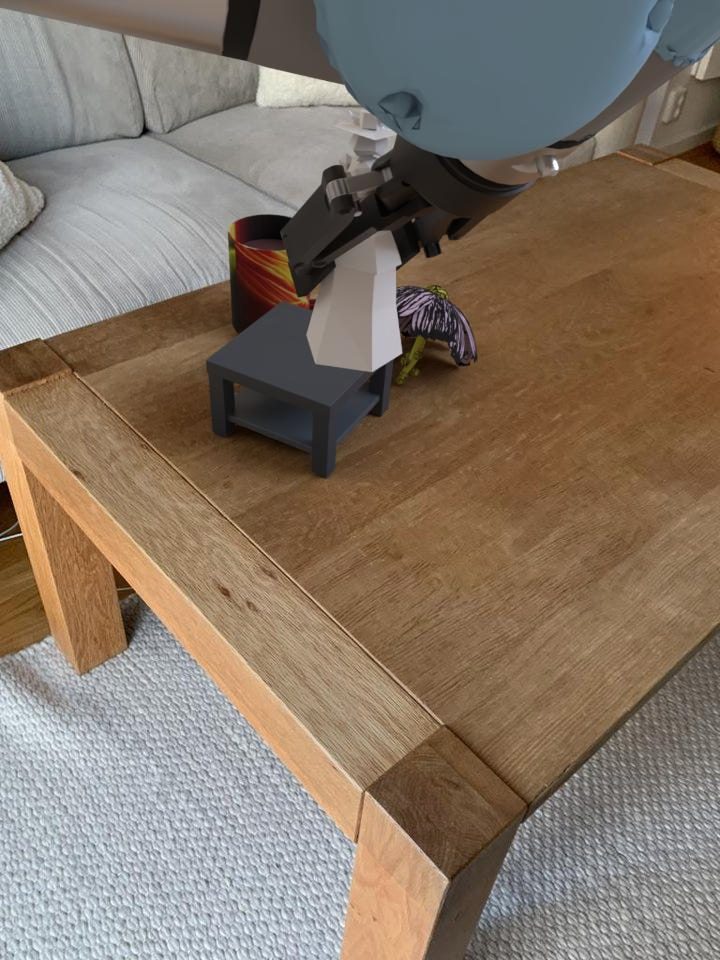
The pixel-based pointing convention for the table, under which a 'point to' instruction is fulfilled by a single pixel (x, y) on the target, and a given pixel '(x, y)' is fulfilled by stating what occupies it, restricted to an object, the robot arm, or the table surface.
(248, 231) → the mug
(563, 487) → the table surface
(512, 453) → the table surface
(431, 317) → the decorative flower
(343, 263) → the figurine
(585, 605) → the table surface
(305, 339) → the stand
